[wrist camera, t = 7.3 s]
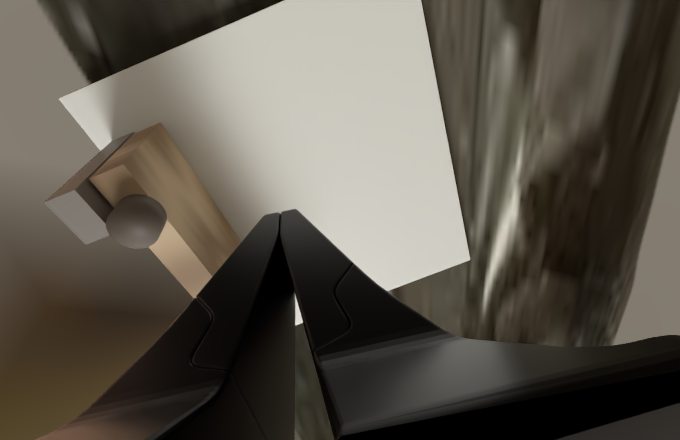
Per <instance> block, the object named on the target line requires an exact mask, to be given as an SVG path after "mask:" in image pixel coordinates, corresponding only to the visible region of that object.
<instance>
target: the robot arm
mask: <svg viewBox="0 0 680 440" xmlns="http://www.w3.org/2000/svg"><path fill="white" fill-rule="evenodd" d="M295 295H296V299H297V302H298V306H299V310H300V313H301V317H302V320H303V324H304V328H305V331H306V335H307V339H308V342H309V346H310V349H311V353H312V356H313V360H314V364H315V367H316V371H317V375H318V379H319V382H320V386H321V390H322V394H323V398H324V402H325V405H326V409H327V413H328V417H329V421H330V425H331V429H332V433H333V436H334V440H680V336H679V335H666V336H659V337H652V338H648V339H644V340H639V341H636V342H631V343H626V344H620V345H614V346H602V347H559V346H547V345H535V344H523V343H511V342H499V341H487V340H475V339H466V338H462V337H458V336H456V335H453V334H451V333H449V332H447V331H445V330H443V329H441V328H440V327H438V326H437V325H435V324H434V323H432V322H431V321H429V320H428V319H426V318H425V317H423V316H422V315H421V314H419V313H418V312H416V311H415V310H413V309H412V308H410V307H409V306H408V305H406V304H405V303H403V302H402V301H400V300H399V299H397V298H396V297H394V296H393V295H392V294H390V293H389V292H388V291H386V290H385V289H383V288H382V287H381V286H379V285H378V284H377V283H376V282H374V281H373V280H372V279H371V278H370V277H369V276H367V275H366V274H365V273H364V272H363V271H362V270H361V269H360V268H359V267H358V266H357V265H355V264H354V263H353V262H352V261H351V260H350V259H349V258H348V257H347V256H346V255H345V254H344V253H343V252H342V251H341V250H340V249H338V248H337V247H336V246H335V245H334V244H333V243H332V242H331V241H330V240H329V239H328V238H327V237H326V236H325V235H324V234H323V233H322V232H320V231H319V230H318V229H317V228H316V227H315V226H314V225H313V224H312V223H311V222H310V221H309V220H308V219H307V218H306V217H305V216H304V215H302V214H301V213H300V212H299V211H298V210H297V209H291V210H286V211H282V212H281V214H280V213H278V212H276V213H271V214H266V215H264V216H263V217H262V218H261V219H260V220H259V222H258V223H257V224H256V225H255V226H254V228H253V229H252V230H251V231H250V232H249V234H248V235H247V236H246V237H245V238H244V240H243V241H242V242H241V243H240V244H239V245H238V247H237V248H236V249H235V250H234V251H233V253H232V254H231V255H230V256H229V257H228V259H227V260H226V261H225V262H224V263H223V265H222V266H221V267H220V268H219V269H218V270H217V272H216V273H215V274H214V275H213V276H212V278H211V279H210V280H209V281H208V282H207V284H206V285H205V286H204V287H203V288H202V289H201V291H200V292H199V293H198V294H197V295H196V298H194V299H193V300H192V301H191V302H190V304H189V305H188V306H187V307H186V308H185V310H184V311H183V312H182V313H181V314H180V315H179V316H178V317H177V319H176V320H175V321H174V322H173V323H172V324H171V325H170V326H169V328H168V329H167V330H166V331H165V332H164V333H163V334H162V335H161V336H160V337H159V338H158V339H157V340H156V341H155V342H154V343H153V344H152V345H151V346H150V347H149V348H148V349H147V350H146V351H145V352H144V353H143V354H142V355H141V356H140V357H139V358H138V359H137V360H136V361H135V362H134V363H133V364H132V366H130V367H129V368H128V369H127V370H126V371H125V372H124V373H123V374H122V375H121V376H120V377H119V378H118V379H117V380H116V381H115V382H114V383H113V384H112V385H111V386H110V387H109V388H108V389H107V390H106V391H105V392H104V393H103V394H102V395H101V396H100V397H99V398H98V399H97V400H96V401H95V402H94V403H93V404H92V405H91V406H90V407H89V408H88V409H86V410H85V411H84V412H82V413H81V414H80V415H79V416H77V417H76V418H75V419H73V420H72V421H70V422H69V423H67V424H66V425H64V426H62V427H60V428H59V429H57V430H55V431H53V432H51V433H49V434H47V435H45V436H43V437H40V438H38V439H35V440H294V431H295Z"/></svg>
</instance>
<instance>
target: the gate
mask: <svg viewBox="0 0 680 440" xmlns="http://www.w3.org/2000/svg"><path fill="white" fill-rule="evenodd" d="M89 180H90V181H91V182H92V183H93V184H94V186H95V187H96V188H97V189H98V190H99V191H100V192H101V193H102V195H103V196H104V197H105V198H106V199H107V200H108V201H109V203H110V204H111V205H112V206H113V207H114V209H113V211H112V212H111V213H110V215H109V216H108V217H107V220H106V229H107V232H108V233H109V235H110V236H111V237H112V238H113V239H114V240H115V241H116V242H118V243H119V244H121V245H123V246H126V247H130V248H136V249H140V248H146V247H149V248H150V249H151V250H152V251H153V253H154V254H155V255H156V256H157V257H158V258H159V259H160V260H161V262H162V263H163V264H164V265H165V266H166V267H167V268H168V269H169V271H170V272H171V273H172V274H173V275H174V276H175V278H176V279H177V280H178V281H179V282H180V283H181V284H182V285H183V287H184V288H185V289H186V290H187V291H188V292H189V293H190V295H191V296H192V297H193V298H196V295H197V294H198V293H199V292H200V291H201V289H202V288H203V287H204V286H205V285H206V284H207V282H208V281H209V280H210V279H211V278H212V276H213V275H214V274H215V273H216V272H217V270H218V269H219V268H220V267H221V266H222V265H223V263H224V262H225V261H226V260H227V259H228V257H229V256H230V255H231V254H232V253H233V251H234V250H235V249H236V248H237V247H238V245H239V244H240V243H241V241H240V239H239V238H238V236H237V235H236V233H235V232H234V230H233V229H232V227H231V226H230V224H229V223H228V221H227V220H226V219H225V217H224V216H223V214H222V213H221V211H220V210H219V208H218V207H217V205H216V204H215V202H214V201H213V199H212V198H211V196H210V195H209V193H208V192H207V190H206V189H205V187H204V186H203V184H202V183H201V181H200V180H199V179H198V177H197V176H196V174H195V173H194V171H193V170H192V168H191V167H190V165H189V164H188V162H187V161H186V159H185V158H184V156H183V155H182V153H181V152H180V150H179V149H178V147H177V146H176V144H175V143H174V141H173V140H172V139H171V137H170V136H169V134H168V133H167V131H166V130H165V128H164V127H163V125H162V124H161V122H160V123H158V124H155V125H153V126H151V127H148V128H146V129H144V130H141V131H139V132H137V133H134V134H133V135H132V136H131V137H130V138H129V139H128V140H127V141H126V142H125V143H124V144H123V145H122V146H121V147H120V148H119V149H118V150H117V151H116V152H115V153H114V154H113V155H112V156H111V157H110V158H109V159H108V160H107V161H106V162H105V163H104V164H103V165H102V166H101V167H100V168H99V169H98V170H97V171H96V172H95V173H94V174H93V175H92V176H91V177H90V178H89Z"/></svg>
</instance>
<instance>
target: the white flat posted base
mask: <svg viewBox="0 0 680 440" xmlns="http://www.w3.org/2000/svg"><path fill="white" fill-rule="evenodd" d="M59 100H60V101H61V102H62V104H63V105H64V106H65V107H66V109H67V110H68V111H69V112H70V113H71V115H72V116H73V117H74V119H75V120H76V121H77V122H78V123H79V125H80V126H81V127H82V128H83V130H84V131H85V132H86V133H87V135H88V136H89V137H90V138H91V140H92V141H93V142H94V143H95V145H96V146H97V147H98V148H99V149H100V152H99V153H98V154H97V155H96V156H95V157H94V158H93V159H91V160H90V162H88V163H87V164H86V165H85V166H84V167H83V168H82V169H80V170H79V171H78V172H77V173H76V174H75V175H74V176H73V177H72V178H71V179H69V180H68V181H67V182H66V183H65V184H64V185H63V186H62V187H61V188H59V189H58V190H57V191H56V192H55V193H54V194H53V195H52V196H51V197H50V198H49V199H48V200H46V201H45V202H44V203H45V204H46V205H47V206H48V207H49V208H50V209H51V210H52V211H53V212H54V213H55V214H56V215H57V216H58V217H59V218H60V219H61V220H62V221H63V222H64V223H65V224H66V225H67V226H68V227H69V228H70V229H71V230H72V231H73V232H74V233H75V234H76V235H77V236H78V237H79V238H80V239H81V240H82V241H83V242H84V243H85V244H89V243H91V242H94V241H96V240H99V239H101V238H104V237H106V236H109V233H108V232H107V229H106V220H107V217H108V216H109V215H110V213H111V212H112V211H113V209H114V207H113V206H112V205H111V204H110V203H109V201H108V200H107V199H106V198H105V197H104V196H103V195H102V193H101V192H100V191H99V190H98V189H97V188H96V187H95V186H94V184H93V183H92V182H91V181H90V180H89V178H90V177H91V176H92V175H93V174H94V173H95V172H96V171H97V170H98V169H99V168H100V167H101V166H102V165H103V164H104V163H105V162H106V161H107V160H108V159H109V158H110V157H111V156H112V155H113V154H114V153H115V152H116V151H117V150H118V149H119V148H120V147H121V146H122V145H123V144H124V143H125V142H126V141H127V140H128V139H129V138H130V137H131V136H132V135H133V134H134V133H137V132H139V131H141V130H144V129H146V128H148V127H151V126H153V125H155V124H158V123H160V122H161V124H162V125H163V127H164V128H165V130H166V131H167V133H168V134H169V136H170V137H171V139H172V140H173V141H174V143H175V144H176V146H177V147H178V149H179V150H180V152H181V153H182V155H183V156H184V158H185V159H186V161H187V162H188V164H189V165H190V167H191V168H192V170H193V171H194V173H195V174H196V176H197V177H198V179H199V180H200V181H201V183H202V184H203V186H204V187H205V189H206V190H207V192H208V193H209V195H210V196H211V198H212V199H213V201H214V202H215V204H216V205H217V207H218V208H219V210H220V211H221V213H222V214H223V216H224V217H225V219H226V220H227V221H228V223H229V224H230V226H231V227H232V229H233V230H234V232H235V233H236V235H237V236H238V238H239V239H240V241H241V242H242V241H243V240H244V238H245V237H246V236H247V235H248V234H249V232H250V231H251V230H252V229H253V228H254V226H255V225H256V224H257V223H258V222H259V220H260V219H261V218H262V217H263V216H264V215H266V214H271V213H276V212H278V213H280V214H281V212H282V211H286V210H291V209H297V210H298V211H299V212H300V213H301V214H302V215H304V216H305V217H306V218H307V219H308V220H309V221H310V222H311V223H312V224H313V225H314V226H315V227H316V228H317V229H318V230H319V231H320V232H322V233H323V234H324V235H325V236H326V237H327V238H328V239H329V240H330V241H331V242H332V243H333V244H334V245H335V246H336V247H337V248H338V249H340V250H341V251H342V252H343V253H344V254H345V255H346V256H347V257H348V258H349V259H350V260H351V261H352V262H353V263H354V264H355V265H357V266H358V267H359V268H360V269H361V270H362V271H363V272H364V273H365V274H366V275H367V276H369V277H370V278H371V279H372V280H373V281H374V282H376V283H377V284H378V285H379V286H381V287H382V288H383V289H385V290H386V291H389V290H391V289H394V288H397V287H399V286H402V285H405V284H407V283H410V282H413V281H415V280H418V279H421V278H423V277H426V276H429V275H431V274H434V273H437V272H439V271H442V270H445V269H447V268H450V267H453V266H455V265H458V264H461V263H463V262H466V261H469V260H470V256H469V251H468V246H467V240H466V235H465V230H464V224H463V219H462V214H461V209H460V203H459V198H458V193H457V187H456V182H455V177H454V172H453V166H452V161H451V156H450V150H449V145H448V140H447V135H446V129H445V124H444V119H443V113H442V108H441V103H440V98H439V92H438V87H437V82H436V76H435V71H434V66H433V61H432V55H431V50H430V45H429V40H428V34H427V29H426V24H425V18H424V13H423V8H422V3H421V0H284V1H281V2H279V3H277V4H274V5H272V6H270V7H267V8H265V9H263V10H260V11H258V12H256V13H254V14H251V15H249V16H247V17H244V18H242V19H240V20H237V21H235V22H233V23H231V24H228V25H226V26H224V27H221V28H219V29H217V30H214V31H212V32H210V33H208V34H205V35H203V36H201V37H198V38H196V39H194V40H191V41H189V42H187V43H184V44H182V45H180V46H178V47H175V48H173V49H171V50H168V51H166V52H164V53H161V54H159V55H157V56H155V57H152V58H150V59H148V60H145V61H143V62H141V63H138V64H136V65H134V66H132V67H129V68H127V69H125V70H122V71H120V72H118V73H115V74H113V75H111V76H108V77H106V78H104V79H102V80H99V81H97V82H95V83H92V84H90V85H88V86H85V87H83V88H81V89H79V90H76V91H74V92H72V93H70V94H67V95H65V96H63V97H61V98H59ZM301 323H303V320H302V317H301V313H300V310H299V306H298V302H297V299H296V295H295V325H298V324H301Z"/></svg>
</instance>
